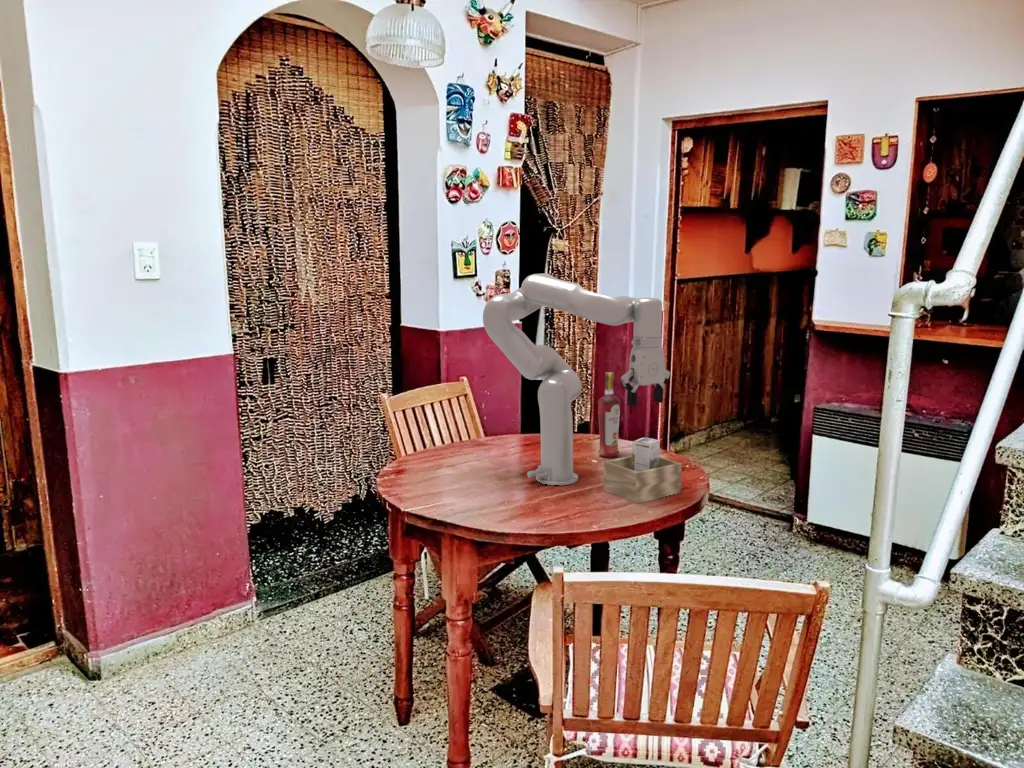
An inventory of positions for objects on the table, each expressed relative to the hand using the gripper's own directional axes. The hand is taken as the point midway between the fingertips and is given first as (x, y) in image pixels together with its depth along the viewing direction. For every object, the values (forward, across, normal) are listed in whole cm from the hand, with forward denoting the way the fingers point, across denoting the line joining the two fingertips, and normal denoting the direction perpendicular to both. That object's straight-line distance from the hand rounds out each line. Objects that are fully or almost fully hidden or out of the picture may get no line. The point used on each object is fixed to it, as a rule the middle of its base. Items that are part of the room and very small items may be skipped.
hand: (645, 403), depth 208 cm
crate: (+25, -2, -2) cm, 25 cm away
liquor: (+25, +15, +33) cm, 45 cm away
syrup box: (+25, 0, 0) cm, 25 cm away
